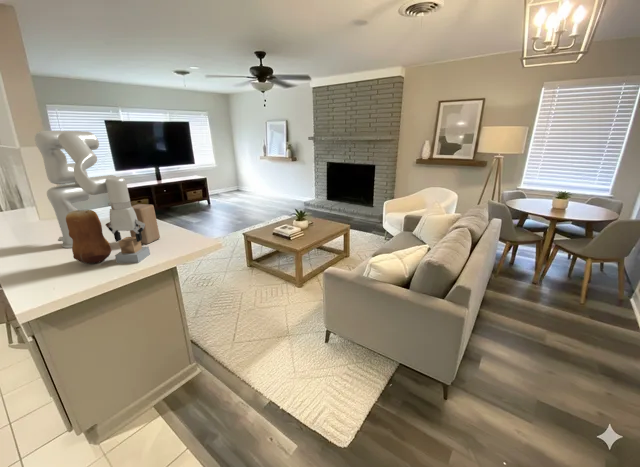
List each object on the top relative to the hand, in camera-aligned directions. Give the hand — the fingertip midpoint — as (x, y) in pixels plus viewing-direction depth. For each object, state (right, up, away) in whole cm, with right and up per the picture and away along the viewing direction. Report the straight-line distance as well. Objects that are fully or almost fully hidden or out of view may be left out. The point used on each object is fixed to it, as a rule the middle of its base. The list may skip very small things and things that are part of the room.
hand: (129, 240), depth 135 cm
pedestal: (+1, -9, +3) cm, 9 cm away
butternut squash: (-15, -10, -1) cm, 18 cm away
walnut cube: (+1, -5, +1) cm, 5 cm away
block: (-7, -1, +25) cm, 26 cm away
